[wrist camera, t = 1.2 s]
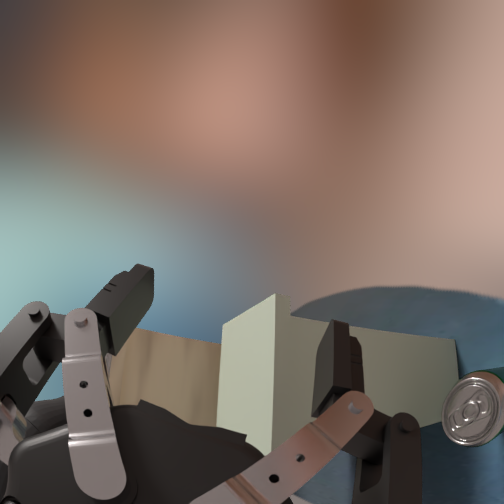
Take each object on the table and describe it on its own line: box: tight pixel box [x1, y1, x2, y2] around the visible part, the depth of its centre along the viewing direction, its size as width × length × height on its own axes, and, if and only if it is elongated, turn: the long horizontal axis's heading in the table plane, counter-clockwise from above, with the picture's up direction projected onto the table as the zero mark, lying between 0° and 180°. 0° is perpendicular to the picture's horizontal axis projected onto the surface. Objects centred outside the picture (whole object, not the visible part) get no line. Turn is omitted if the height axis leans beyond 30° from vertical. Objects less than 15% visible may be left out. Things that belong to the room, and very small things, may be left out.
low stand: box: [216, 293, 459, 456], centre depth 22 cm, size 8×10×22 cm
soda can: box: [441, 367, 504, 447], centre depth 15 cm, size 5×5×12 cm
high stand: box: [109, 328, 222, 427], centre depth 29 cm, size 8×10×30 cm
